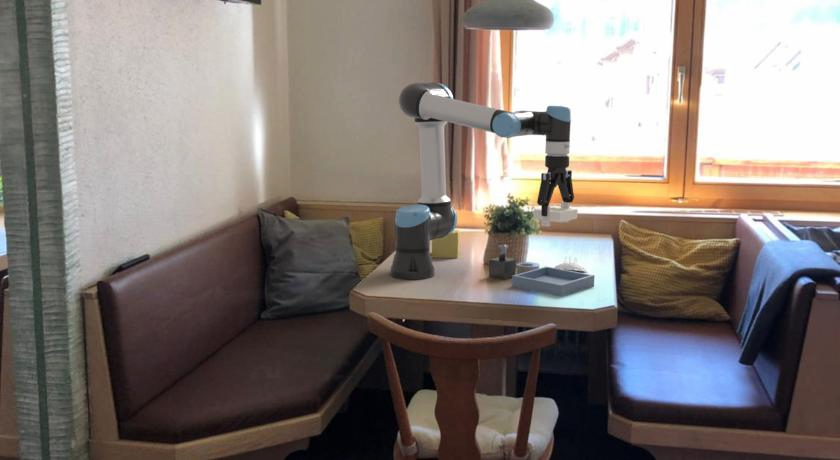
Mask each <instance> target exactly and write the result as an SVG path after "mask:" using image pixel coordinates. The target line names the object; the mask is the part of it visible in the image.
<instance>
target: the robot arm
mask: <svg viewBox="0 0 840 460" xmlns="http://www.w3.org/2000/svg"><path fill="white" fill-rule="evenodd" d="M398 104H399V108H400V110H401V111H402V113H403V114H405V115H406V116H408V117H410V118H413V119H414V124H415V125H416V126H417V127H418V128H419V130H418V131H419V152H420V154H419V155H420V178H421V180H420V181H421V184H420V185H421V197H420V198H419V199H418V200H417V204H409V205H403V206H401V207H399V208H398V209H397V210H396V212H395V219H394V222H395V223H394V224H395V253H394V256H393V260H392V263H391V266H390V276H391V277H394V278H397V279H403V280H423V279H428V278H432V277H434V276H435V274H436V273H435V266H434V265H433V260H432V255H431V253H430V251H431V249H430V246H431V245H430V244H431V243H430V241H432V240H433V239H437V238H443V237H445V236H447V235H449V234H450V233H452V231H453V230H456V227H457V225H458V215H457V211H456V210H455V209H454V207H453V205H452V201H451V200H452V199H451V198H449V196H447V181H446V180H447V176H446V175H447V174H446V172H447V171H446V147H445V145H446V144H445V126H446V125H447V124H448V123H452V124H455V125H460V126H464V127H466V128H467V127H468V128H472V129H476V130H480V131H485V132H489V133H493V134H496V135H497V136H498V137H500V138H504V139H505V138H506V139H510V138H514V137H521V136H522V137H523V136H545V150H544V151H545V154H546V155H545V158H544V159H545V160H544V161H545V162H544V166H545V167H546V168H547V172H541V175H540V178H541V180H540V185H539V190H538V196H537V201H536V204H537V205H538V206H541V208H542V210H541V212H542V213H541V215H542V220H541V227H548V228H550V226H551V221H550V206H551V205H550V203H551V201H552V198H553V197H552V196H553V194H554V191H555V188H557V187H558V190H559V194H560V197H561V199H562V201H561V202H560V207H563V208H570V206H571V205H570V203H574V200H575V193H574V187H573V186H574V185H573V178H572V174H573V171H572V170H568V169H567V168H569V167H570V155H569V154H570V147H571V146H570V141H571V140H570V139H571V123H572V118H571V117H572V116H571V115H572V114H571V113H572V112H571V108H570V106H568V105H548V106H546V110H545V111H532V110H517V111H516V110H515V111H514V112H513V111H507V110H503V109H498V108H494V107H490V106H486V105H481V104H476V103H473V102H467V101H465V100H464V101H463V100H459V99H455V98H454V96H453V93H452V91H451V90H450V89H449V88H448V87H447V85H445V84H442V83H439V82H438V83H437V82H421V83H420V82H414V83H409V84H407V85H406V86H405V87H404V88H403V89H402V90H401V91H400V94H399V96H398ZM569 222H570V220H568V221H564V222H563V223H566V224H567V223H568V224H569Z"/></svg>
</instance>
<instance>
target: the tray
mask: <svg viewBox="0 0 840 460" xmlns="http://www.w3.org/2000/svg"><path fill="white" fill-rule="evenodd" d="M595 276H596V275H595V274H590V273H589V274H588V273H584V272H578V271H575V270H574V271H573V270H569V269H564V270H563V269H557V268H554V267H550V266H542V267H540V268H535V269H532V270H529V271H524V272H521V273H516V275H513V276H512V278H511V287H514V288H520V289H523V290H530V291H532V292H533V291H534V292H539V293H544V294H549V295H552V296H558V297H563V296H568V295H570V294H573V293H576V292H579V290H580V291H582V289H583V290H585V288H586V289H588V288H592V287H594V286H595ZM591 286H592V287H591Z"/></svg>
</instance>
